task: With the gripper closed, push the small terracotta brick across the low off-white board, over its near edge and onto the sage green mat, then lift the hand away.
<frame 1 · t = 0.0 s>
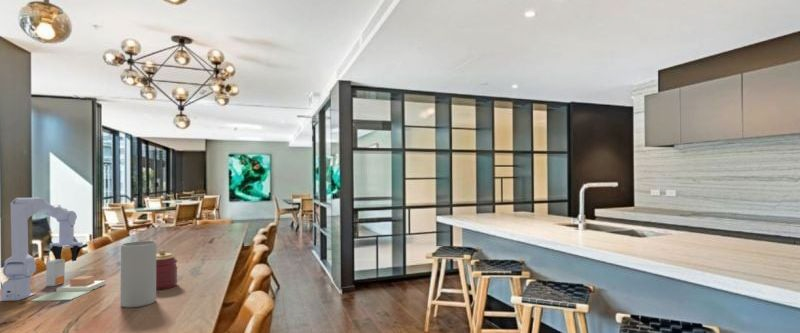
hand: (66, 260, 207), 10 cm above the table, tool pointing down, fingers open, 7 cm apart
canister: (162, 287, 195), on the table
mat: (62, 296, 180), on the table
skincare box: (55, 284, 200), on the table
board: (81, 288, 193), on the table
cylinder vase: (138, 303, 169), on the table
brick: (82, 283, 193), point 2 cm above the table, touching board
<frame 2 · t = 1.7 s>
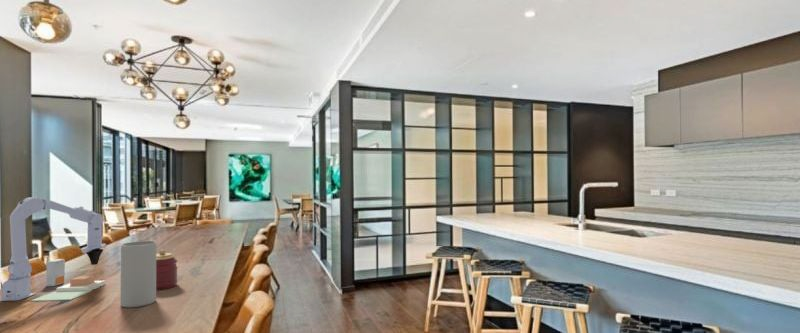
hand: (94, 264, 202), 9 cm above the table, tool pointing down, fingers closed
nothing on the table moved.
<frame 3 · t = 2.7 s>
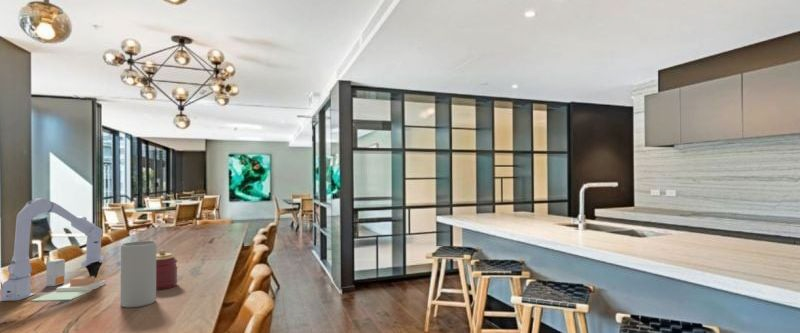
hand: (93, 277, 201), 3 cm above the table, tool pointing down, fingers closed
nothing on the table moved.
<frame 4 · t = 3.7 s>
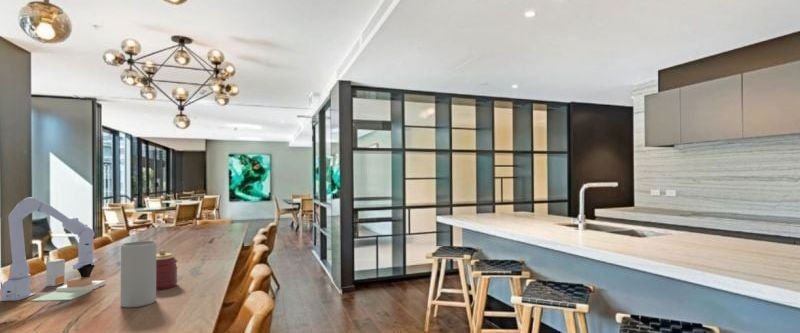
hand: (85, 280, 195), 3 cm above the table, tool pointing down, fingers closed
brick: (79, 285, 191), point 2 cm above the table, touching gripper
everything else where it was.
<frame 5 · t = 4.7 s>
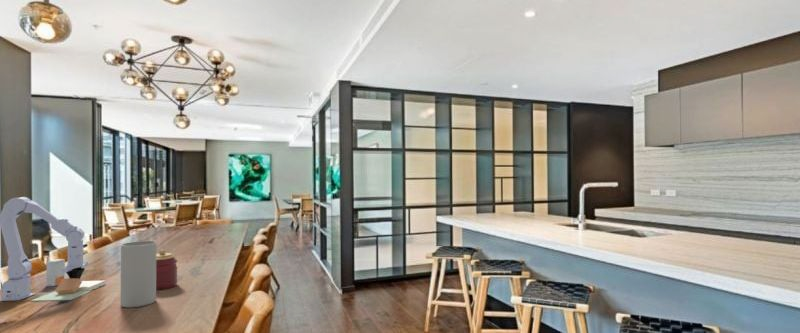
hand: (75, 284, 188), 3 cm above the table, tool pointing down, fingers closed
brick: (70, 288, 185), point 2 cm above the table, tilted 39°, touching gripper
everything else where it was.
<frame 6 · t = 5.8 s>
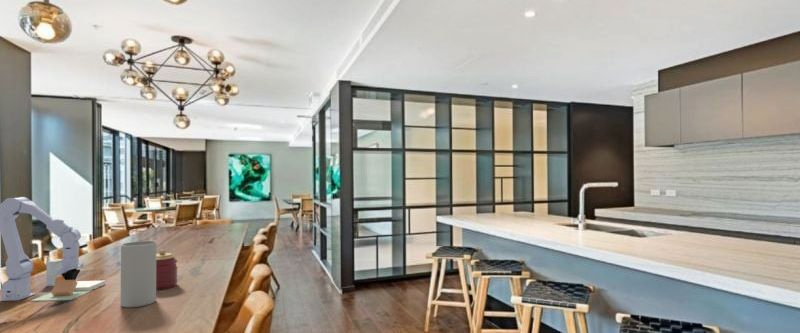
hand: (70, 286, 185), 3 cm above the table, tool pointing down, fingers closed
brick: (65, 289, 182), point 2 cm above the table, tilted 43°, touching gripper, mat
everything else where it was.
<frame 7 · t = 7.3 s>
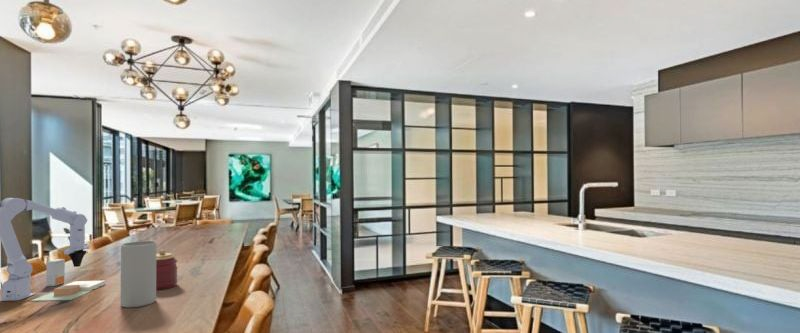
hand: (77, 266, 197), 9 cm above the table, tool pointing down, fingers closed
brick: (67, 293, 183), resting on mat
everything else where it was.
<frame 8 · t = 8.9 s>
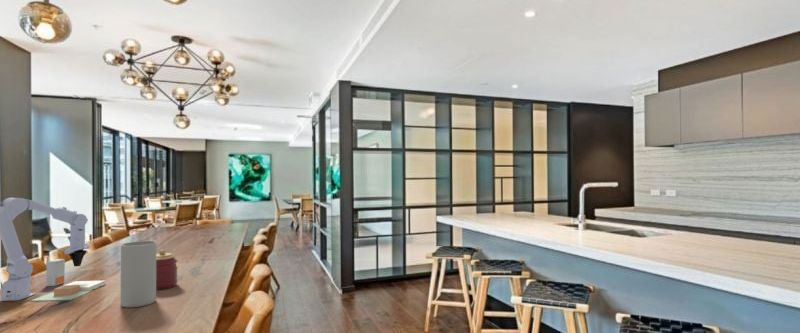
hand: (77, 266, 198), 9 cm above the table, tool pointing down, fingers closed
nothing on the table moved.
at the end: brick resting on mat; brick inside the target area on the mat (2.8 cm from its centre), point 0.4 cm above the mat's base; brick touching mat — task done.
